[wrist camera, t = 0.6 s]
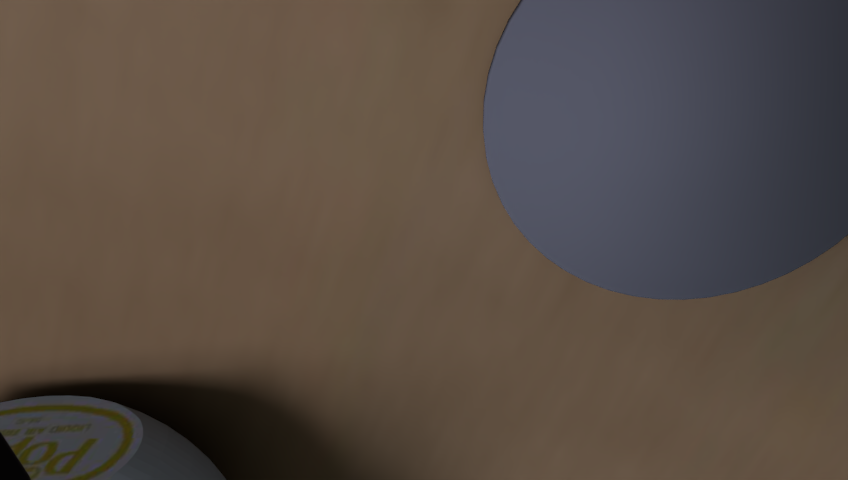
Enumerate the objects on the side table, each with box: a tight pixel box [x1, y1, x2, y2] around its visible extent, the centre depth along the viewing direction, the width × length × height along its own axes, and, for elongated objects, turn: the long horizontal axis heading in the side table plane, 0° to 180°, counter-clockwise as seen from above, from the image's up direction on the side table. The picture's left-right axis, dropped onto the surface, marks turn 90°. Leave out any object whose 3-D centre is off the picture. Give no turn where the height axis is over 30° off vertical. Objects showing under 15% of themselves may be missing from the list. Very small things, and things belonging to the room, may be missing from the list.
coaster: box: [483, 0, 848, 300], centre depth 19 cm, size 10×10×1 cm
